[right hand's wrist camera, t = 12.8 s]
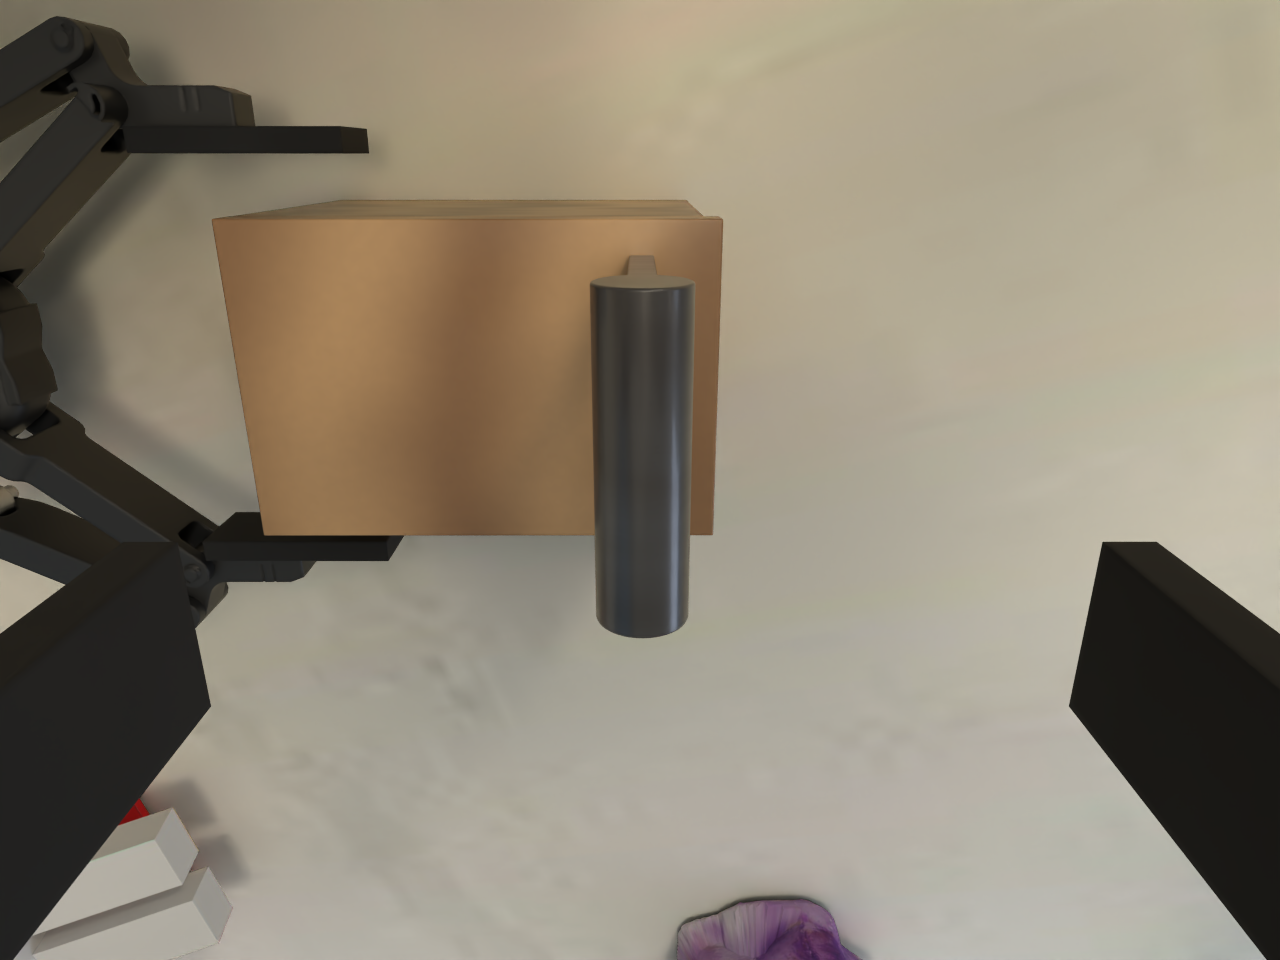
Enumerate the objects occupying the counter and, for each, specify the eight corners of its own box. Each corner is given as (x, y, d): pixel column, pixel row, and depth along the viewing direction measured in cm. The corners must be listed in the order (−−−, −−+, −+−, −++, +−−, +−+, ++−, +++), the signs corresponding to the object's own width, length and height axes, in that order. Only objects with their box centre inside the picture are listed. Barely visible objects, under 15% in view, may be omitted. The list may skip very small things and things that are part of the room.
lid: (719, 216, 25) (759, 245, 17) (710, 522, 28) (739, 670, 20) (228, 216, 25) (28, 245, 17) (277, 522, 28) (130, 670, 20)
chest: (687, 200, 34) (705, 216, 25) (683, 431, 37) (698, 521, 28) (339, 199, 34) (229, 216, 25) (366, 431, 37) (277, 521, 28)
